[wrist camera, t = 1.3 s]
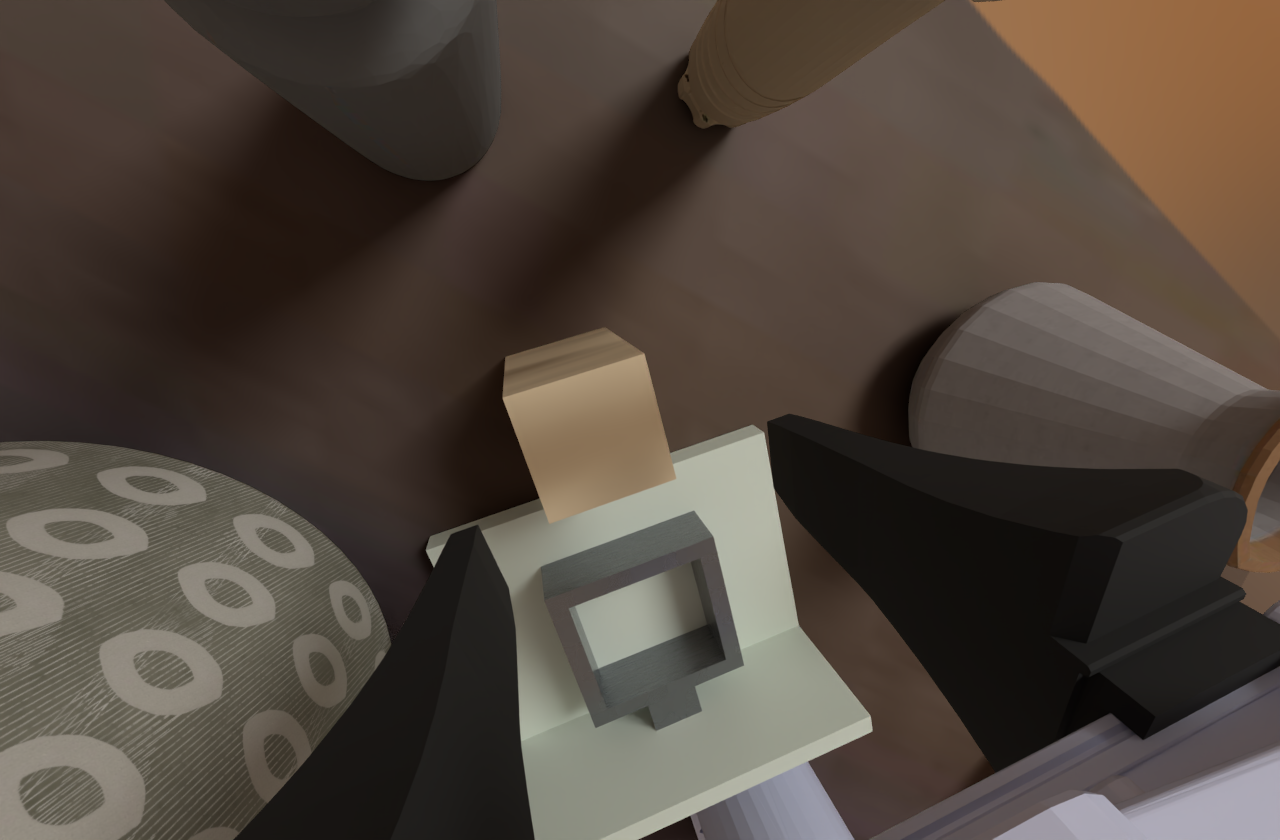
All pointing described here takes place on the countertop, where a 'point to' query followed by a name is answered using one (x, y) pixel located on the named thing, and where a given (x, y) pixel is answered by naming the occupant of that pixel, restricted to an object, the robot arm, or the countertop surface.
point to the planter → (163, 645)
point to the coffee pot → (1098, 402)
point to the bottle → (373, 71)
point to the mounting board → (649, 615)
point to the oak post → (586, 421)
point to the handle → (782, 52)
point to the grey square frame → (666, 667)
